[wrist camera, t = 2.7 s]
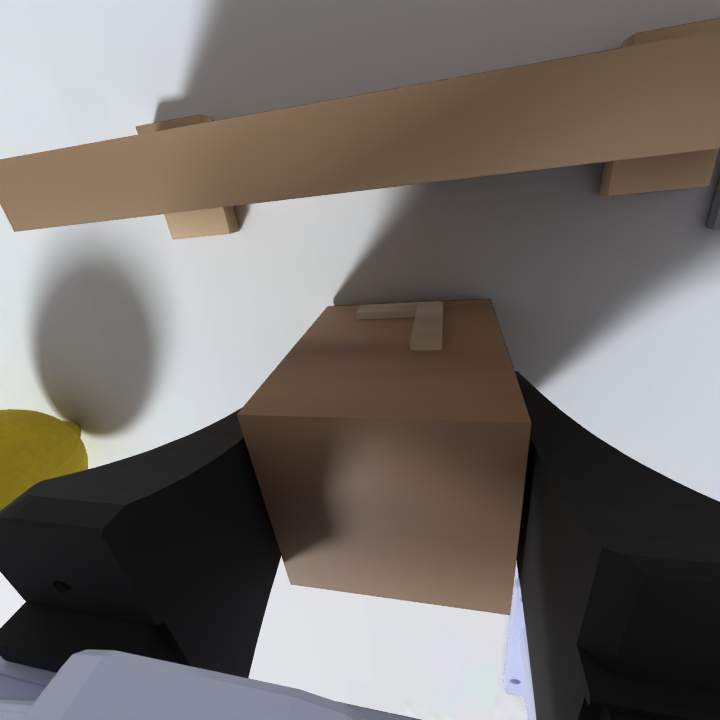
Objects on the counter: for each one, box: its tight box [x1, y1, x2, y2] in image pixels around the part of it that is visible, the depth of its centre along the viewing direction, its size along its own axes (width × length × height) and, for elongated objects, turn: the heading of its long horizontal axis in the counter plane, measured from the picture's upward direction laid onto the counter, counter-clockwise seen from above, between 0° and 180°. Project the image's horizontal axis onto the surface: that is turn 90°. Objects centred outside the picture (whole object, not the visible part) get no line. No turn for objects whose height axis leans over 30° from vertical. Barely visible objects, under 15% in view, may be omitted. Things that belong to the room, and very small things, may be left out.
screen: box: [0, 18, 720, 239], centre depth 8 cm, size 3×14×5 cm, turn 98°
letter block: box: [237, 299, 531, 615], centre depth 10 cm, size 5×5×6 cm
